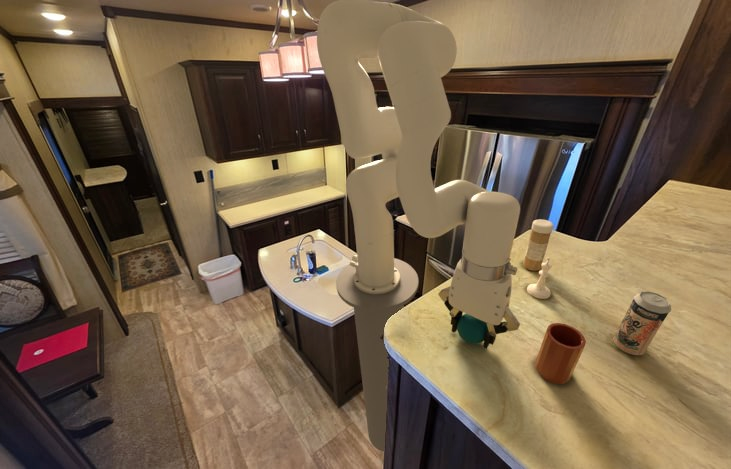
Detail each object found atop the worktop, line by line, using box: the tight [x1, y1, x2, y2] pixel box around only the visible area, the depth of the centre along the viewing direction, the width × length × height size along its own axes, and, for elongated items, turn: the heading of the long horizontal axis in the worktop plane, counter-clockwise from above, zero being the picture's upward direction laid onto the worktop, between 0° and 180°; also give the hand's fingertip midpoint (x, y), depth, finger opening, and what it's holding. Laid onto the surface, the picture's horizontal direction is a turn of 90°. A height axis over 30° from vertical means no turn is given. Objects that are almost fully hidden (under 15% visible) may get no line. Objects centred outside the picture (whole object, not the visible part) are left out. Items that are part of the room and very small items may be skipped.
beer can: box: [612, 290, 672, 356], centre depth 52 cm, size 5×5×12 cm
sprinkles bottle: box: [522, 218, 554, 272], centre depth 75 cm, size 5×5×13 cm
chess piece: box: [526, 256, 552, 300], centre depth 67 cm, size 5×5×10 cm
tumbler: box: [534, 322, 587, 385], centre depth 50 cm, size 5×5×9 cm
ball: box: [457, 313, 488, 345], centre depth 58 cm, size 6×6×6 cm
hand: (471, 334), depth 59 cm, fingers closed on ball, 5 cm apart
